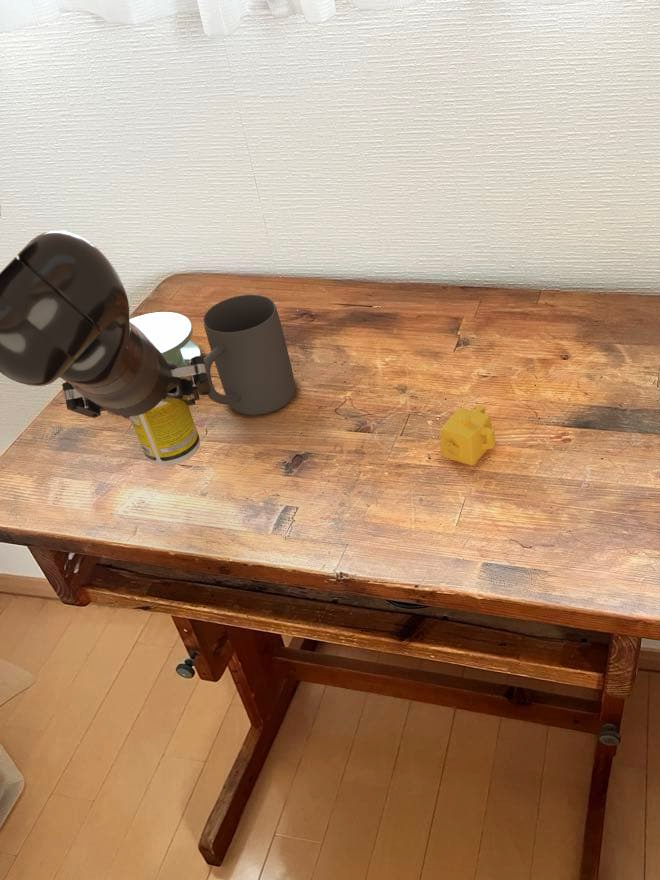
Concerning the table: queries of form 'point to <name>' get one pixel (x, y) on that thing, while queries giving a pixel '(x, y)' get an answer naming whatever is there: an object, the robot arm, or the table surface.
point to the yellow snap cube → (467, 435)
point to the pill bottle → (167, 433)
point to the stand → (169, 336)
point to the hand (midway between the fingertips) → (158, 402)
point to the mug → (249, 355)
